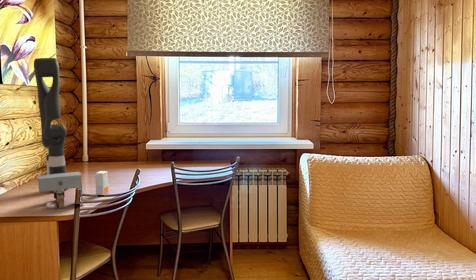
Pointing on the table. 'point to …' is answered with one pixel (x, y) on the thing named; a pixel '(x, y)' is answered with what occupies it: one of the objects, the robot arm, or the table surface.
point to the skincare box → (101, 182)
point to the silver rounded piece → (52, 205)
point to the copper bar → (60, 198)
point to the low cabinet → (60, 182)
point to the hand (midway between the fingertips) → (59, 198)
